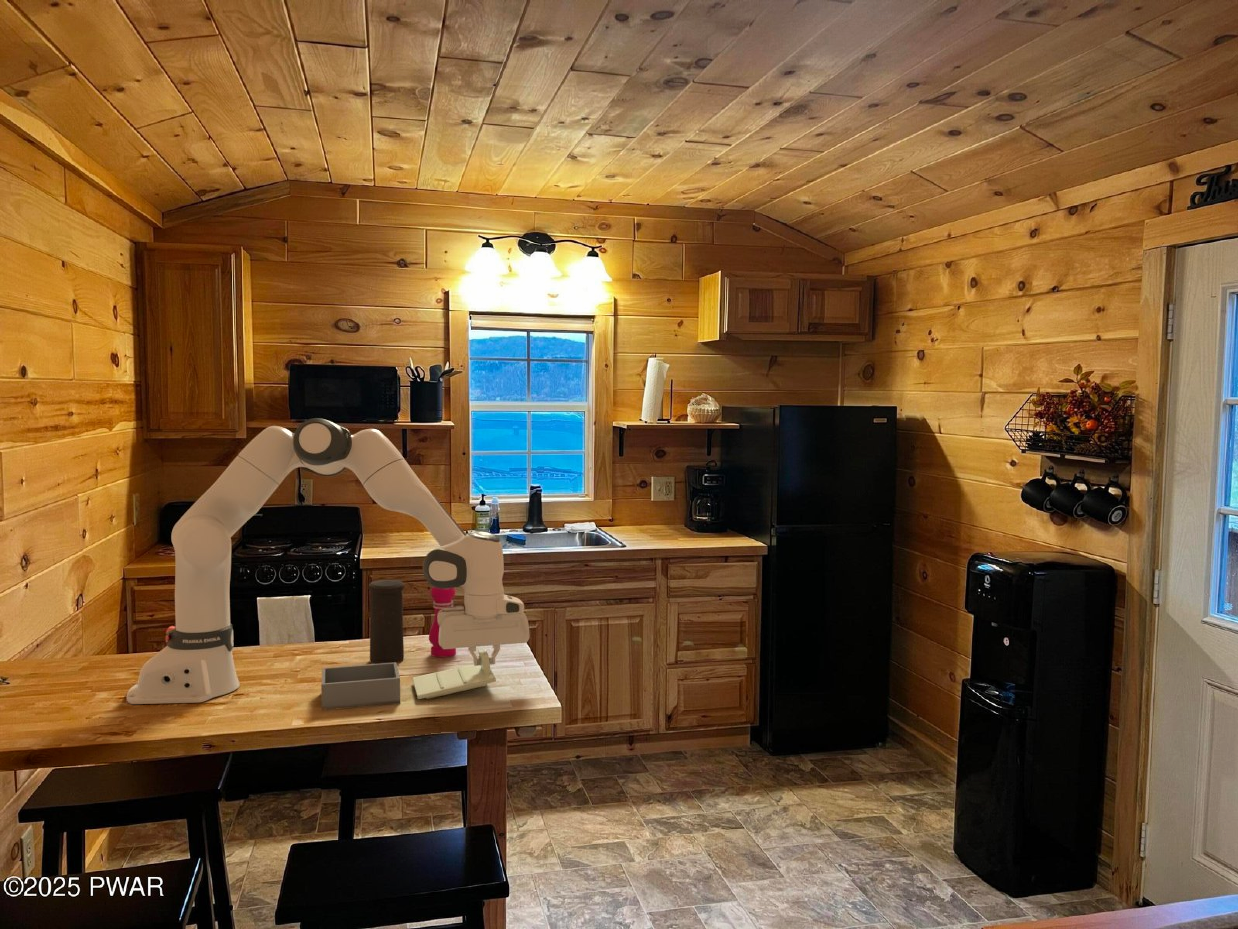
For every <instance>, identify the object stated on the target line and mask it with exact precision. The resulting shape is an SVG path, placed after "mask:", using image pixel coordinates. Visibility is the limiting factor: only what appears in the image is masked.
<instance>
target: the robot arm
mask: <svg viewBox="0 0 1238 929" xmlns="http://www.w3.org/2000/svg"><path fill="white" fill-rule="evenodd" d="M297 468H300V469H301V470H302V471H305V472H309V473H312V474H315V475H318V476H321V477H335V476H338V475H340V474H342V473H343V472H344V471H346V469H349V470H350V471H352V472H353V473H354V474H355V476H356V477H357V479H358V481H359V482H360V483H361V485H362V486H363V487H364V489H365V491H366V492H367V493H368V495H369V496H370V498H371V499H372V500H373V501H374V502H375V503H376V504H377V505H378V506H380V507H381V508H382V509H384V510H387V511H391V512H397V513H402V514H405V515H408V516H411V517H412V518H415V519H416V520H417V521H419V522H420V523H421V524H422V525H424V527H425V529H427V531H428V532H429V533H430V535H431V536H432V537H433V538H434V540H435V541H436V542H437V543H438V544H439V547H436V548H434V549H432V550H431V551H429V552H428V553H427V554H426V556H425V557H424V559H423V561H422V572H423V575H424V578H425V580H426V581H427V583H428V584H429V585H431V587H435V588H438V589H449V588H454V589H455V588H458V587H461V588H462V589H463V594H464V596H463V597H464V598H463V599H464V600H463V601H464V602H463V605H456V606H454V605H453V607H450V606H447V607H444V609H441V610H440V611H439V612H438V615H437V622H438V625H439V626H440V628H439V645H440V646H441V647H442V648H443V649H452V648H456V649H462V648H463V649H465V648H468V652H470V654H471V656H472V658H473V664H474V666H479V665H481V657H480V656H479V655H477V654H476V653H475V652H476V651H477V647H478V648H479V647H489V646H491V647H492V649H493V650H492V652H491V654H490V655H489V654H488V656H489V663H490V666H491V665H496V657H497V656H498V654H499V652H500V651H501V646H504V645H513V644H514V645H515V644H516V645H517V644H526V643H527V642H528V641H529V639H530V626H529V625H530V624H529V621H528V617H527V615H526V613H524V611H525V604H524V602H523V601H522V600H521V599H520V598H518V597H514V596H512V595H507V594H505V590H504V588H505V587H504V585H503V577H504V574H505V573H504V571H505V570H504V567H505V565H504V551H503V544H502V542H501V540H500V538H499V537H498V536H497V535H496V534H493V533H491V532H486V531H476V530H475V531H470V532H468V533H466V532H465V531H464V529H462V528H461V526H460V525H459V524H458V523H457V521H456V520H455V519H454V518H453V517H452V515H451V514H450V513H449V512H448V510H447V509H446V508H445V507H444V505H443V504H442V503H441V502H440V501H439V500H438V498H437V497H436V496H435V495H434V494H433V493H432V492H431V491H430V489H429V488H428V487H427V486H426V485H425V484H424V483H423V482H422V481H421V479H420V478H419V477H418V476H417V474H416V473H415V471H414V470H413V469H412V468H411V467H410V464H409V463H408V462H407V460H406V459H405V458H404V457H403V455H402V453H401V452H400V451H399V450H398V448H397V447H396V446H395V445H394V444H393V442H391V441H390V439H389V438H388V437H387V436H385V435H384V433H383V432H382V431H380V430H378V429H375V428H367V429H362V430H360V431H358V432H356V433H354V434H351V432H350V430H348V428H345V427H343V426H341V425H338V424H337V423H335V422H333V421H331V420H327V419H324V418H320V417H319V418H318V417H317V418H316V417H315V418H309V419H307V420H305V421H303V422H302V423H301V424H300V425H298V427H297V428H296V430H295V432H292V431H290V430H289V429H287V428H285V427H283V426H278V425H271V426H267V427H266V428H265V429H263V430H262V431H261V432H259V433H258V434H257V435H256V436H255V437H254V438H253V439H251V441H249V442H248V444H246V445H245V447H244V448H242V449H241V451H240V452H239V453H238V455H237V456H236V457H235V458H234V459H233V461H231V462H230V464H228V466H227V468H226V469H225V470H224V471H223V472H222V473H221V475H220V476H219V477H218V478H217V479H216V481H215V482H214V483H213V484H212V485H211V486H210V487H209V488H208V489H206V491H205V492H204V493H203V494H201V495H200V497H199V498H198V499H197V500H196V501H195V502H194V503H193V504H192V505H191V506H190V508H189V509H187V511H186V512H185V513H184V514H183V515H182V516H181V517H180V519H179V520H178V521H177V522H176V523H175V524H174V526H173V528H172V531H171V536H170V537H171V543H172V545H173V549H174V553H175V554H174V555H175V560H174V561H175V566H174V567H175V571H174V572H175V573H174V574H175V575H174V578H175V581H174V610H175V611H174V614H175V626H174V625H171V626H169V627H168V628H166V629H167V630H166V631H165V645H166V646H165V647H163V649H161V650H160V651H159V652H157V653H156V654H155V655H154V656H152V657H151V658H150V659H148V660H147V661H146V663H144V664H143V665H142V667H141V669H140V671H139V675H138V680H137V683H136V684H134V685H132V687H131V686H130V688H129V690H128V691H127V692H126V693H127V694H126V702H127V703H128V704H130V705H143V704H145V705H146V704H147V705H148V704H150V705H153V704H187V703H190V704H191V703H192V704H193V703H204V702H206V701H209V700H211V699H214V698H217V697H221V696H223V695H226V694H229V693H231V692H233V691H236V690H237V689H238V688H239V687H240V685H241V684H240V680H239V678H238V675H237V671H236V666H235V661H234V657H233V648H234V629H233V624H232V623H231V606H230V605H231V602H230V601H231V599H230V584H231V583H230V582H231V571H232V539H231V538H233V536H234V535H235V534H236V533H237V531H239V530H240V529H241V528H242V527H243V526H244V525H245V524H246V523H247V521H249V520H250V519H251V518H252V517H253V516H255V515H256V514H257V513H258V512H259V511H260V509H262V507H263V506H264V505H265V503H266V502H267V501H268V500H269V498H270V497H271V496H272V495H273V494H274V493H275V491H276V490H277V488H279V487H280V485H281V484H282V482H283V481H284V479H286V477H287V476H288V475H289V474H290V473H291V472H292V471H293V470H294V469H297ZM443 610H444V612H442V611H443Z"/></svg>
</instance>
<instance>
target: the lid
mask: <svg viewBox="0 0 1238 929" xmlns="http://www.w3.org/2000/svg"><path fill="white" fill-rule="evenodd" d="M477 650H478V656H480V657H481V665H479V666H474V663H473V664H469V665H463V666H459V667H454V668H450V669H446V670H445V669H444V670H441V671H437V672H436V671H435V672H432V673H427V674H423V675H422V674H421V675H418V676H417V675H416V676H413V677H412V682H413V685H414V689H415V694H416V697H417V700H421V699H425V698H426V700H428V699H434V698H437V697H441V696H446V695H450V694H455V693H459V692H464V691H467V690H473V689H476V688H481V687H485V686H488V684H491V683H496V682H497V679H496V677H495V674H494V673H493V671H492V669H491V665H490V663H489V656H488V655H489V653H488V651H487V650H486V648H484V647H483V648H479V649H477Z"/></svg>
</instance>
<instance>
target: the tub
mask: <svg viewBox="0 0 1238 929" xmlns="http://www.w3.org/2000/svg"><path fill="white" fill-rule="evenodd" d="M320 687H321V690H320V691H321V692H320V693H321V711H330V710H331V709H332V710H340V709H339V708H343V709H353V708H364V707H374V706H385V705H387V706H388V705H397V704H401V677H400V673H399V668H398V663H396V662H394V663H381V664H373V663H369V664H357V665H344V666H331V667H322V668H321V684H320ZM337 708H338V709H337Z"/></svg>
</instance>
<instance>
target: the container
mask: <svg viewBox="0 0 1238 929" xmlns="http://www.w3.org/2000/svg"><path fill="white" fill-rule="evenodd" d="M367 588H368V590H369V592H370V594H369V596H370V597H369V598H370V599H369V600H370V603H369V604H370V606H369V611H370V613H369V614H370V615H369V618H370V619H369V628H370V630H369V662H370V664H381V663H394V662H396V663H397V664H398V663H400V662H402V661H403V660H404V659H405V658H404V657H405V651H404V650H405V648H404V646H405V645H404V644H405V643H404V609H403V608H404V606H403V605H404V602H403V599H404V594H403V590H404V589H405V583H404V582H403V581H401V580H399V579H379V580H378V579H377V580H373V581H371V582H369V584H368V586H367Z"/></svg>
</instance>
